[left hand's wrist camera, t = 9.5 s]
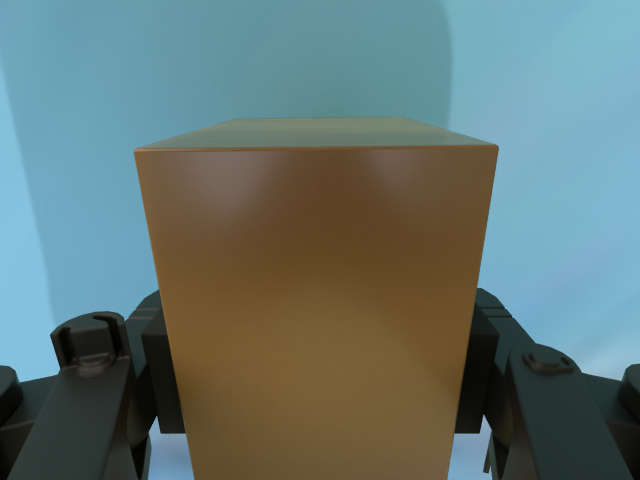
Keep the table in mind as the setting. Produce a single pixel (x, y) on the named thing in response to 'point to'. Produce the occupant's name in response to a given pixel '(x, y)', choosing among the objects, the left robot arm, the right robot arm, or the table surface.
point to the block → (318, 291)
